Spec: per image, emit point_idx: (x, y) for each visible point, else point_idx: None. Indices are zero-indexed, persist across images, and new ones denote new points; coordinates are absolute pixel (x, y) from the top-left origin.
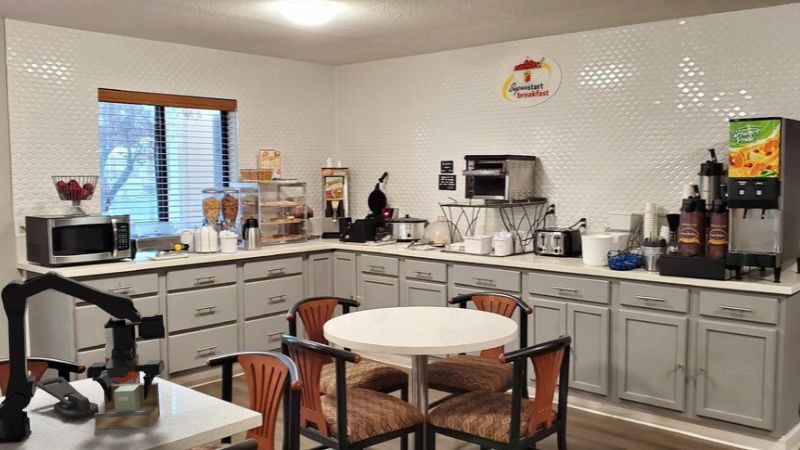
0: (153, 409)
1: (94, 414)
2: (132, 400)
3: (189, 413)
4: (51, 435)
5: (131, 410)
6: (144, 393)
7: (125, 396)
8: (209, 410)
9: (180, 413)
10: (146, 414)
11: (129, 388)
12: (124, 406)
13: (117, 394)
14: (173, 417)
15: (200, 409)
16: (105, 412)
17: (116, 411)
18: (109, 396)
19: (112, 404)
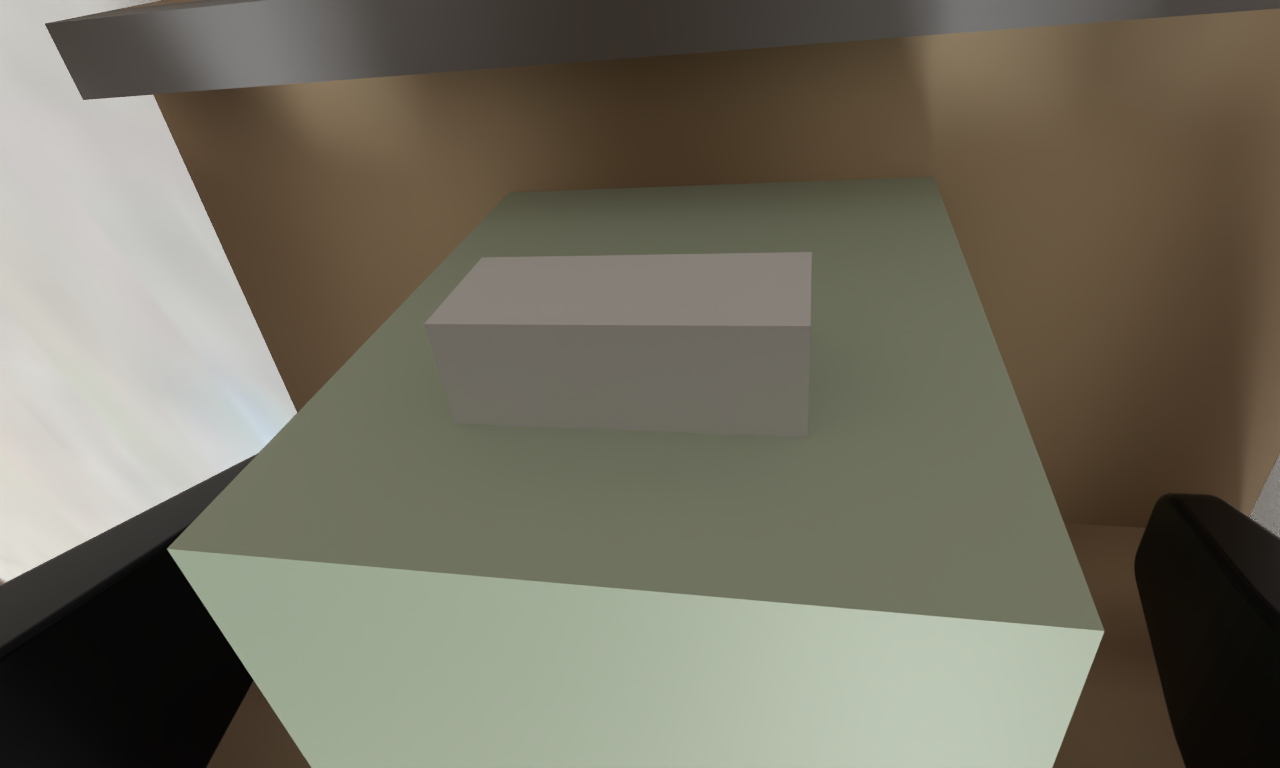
0: (280, 335)
1: None
2: (420, 325)
3: (127, 422)
4: None
5: (555, 210)
6: (149, 541)
7: (532, 361)
8: (6, 465)
9: (220, 438)
10: (156, 4)
11: None
12: (690, 250)
13: (896, 498)
14: (207, 330)
15: (109, 503)
16: (1209, 304)
17: (911, 199)
18: (1259, 597)
19: (1091, 573)
